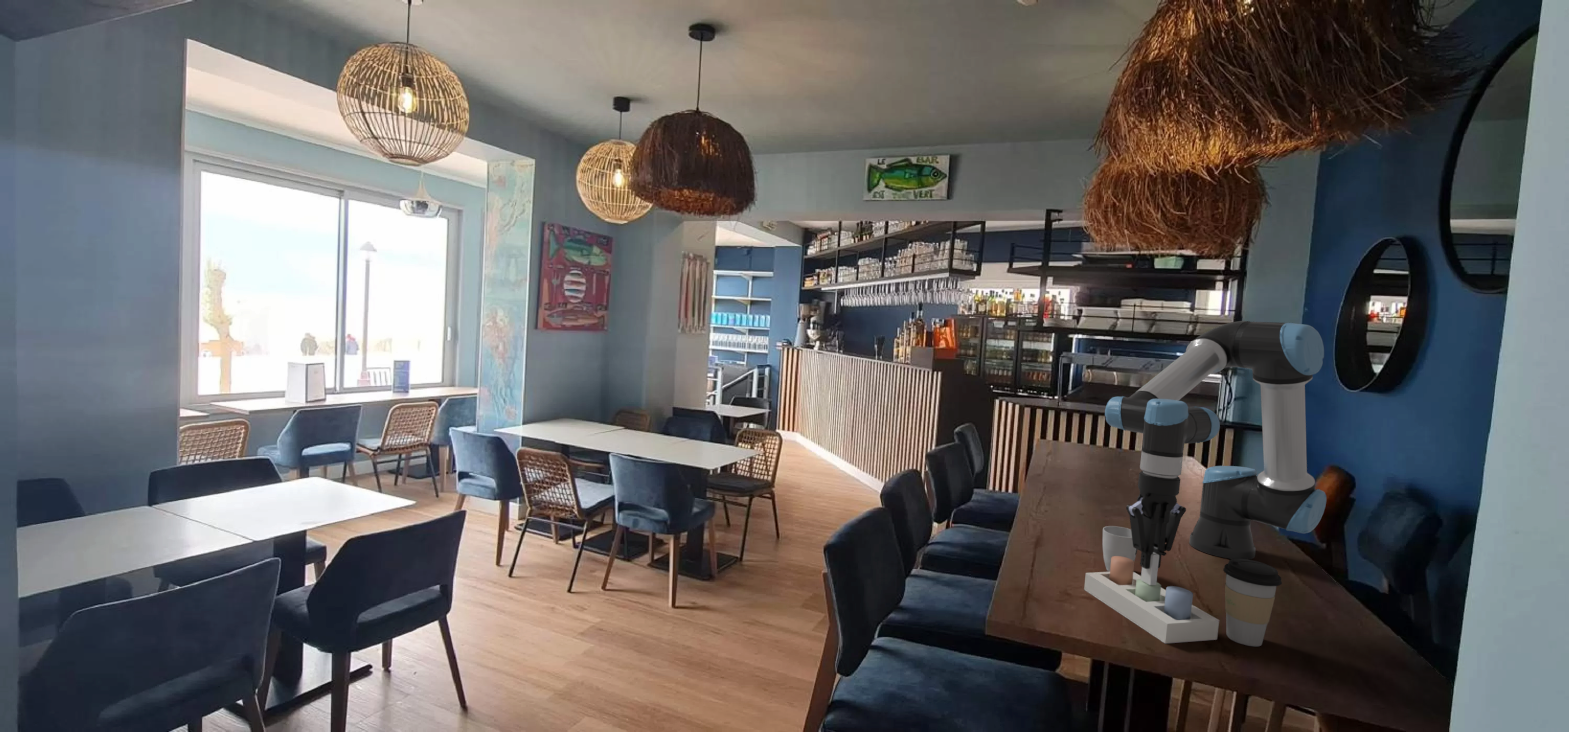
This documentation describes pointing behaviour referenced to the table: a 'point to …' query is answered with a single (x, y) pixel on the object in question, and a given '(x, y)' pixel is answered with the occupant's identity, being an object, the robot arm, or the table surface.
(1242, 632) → the coffee cup
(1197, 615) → the button board
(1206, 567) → the table surface
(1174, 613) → the slate cap
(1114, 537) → the cup
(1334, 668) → the table surface
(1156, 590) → the sage cap
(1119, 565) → the terracotta cap
